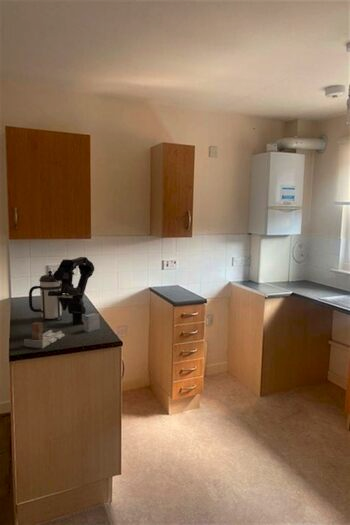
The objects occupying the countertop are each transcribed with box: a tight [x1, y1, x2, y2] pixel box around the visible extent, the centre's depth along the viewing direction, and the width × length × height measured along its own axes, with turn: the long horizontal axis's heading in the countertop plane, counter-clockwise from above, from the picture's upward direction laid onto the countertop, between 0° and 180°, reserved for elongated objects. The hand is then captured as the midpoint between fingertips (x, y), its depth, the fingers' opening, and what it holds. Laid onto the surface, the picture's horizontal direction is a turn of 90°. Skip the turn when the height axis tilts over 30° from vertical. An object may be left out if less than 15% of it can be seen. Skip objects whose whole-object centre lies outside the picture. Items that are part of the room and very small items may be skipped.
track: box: [23, 329, 65, 349], centre depth 194 cm, size 20×10×4 cm, turn 165°
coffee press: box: [28, 270, 63, 323], centre depth 231 cm, size 17×16×30 cm
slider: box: [31, 321, 44, 341], centre depth 186 cm, size 4×4×10 cm
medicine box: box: [83, 312, 101, 333], centre depth 212 cm, size 8×4×9 cm, turn 141°
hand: (64, 310), depth 208 cm, fingers closed
